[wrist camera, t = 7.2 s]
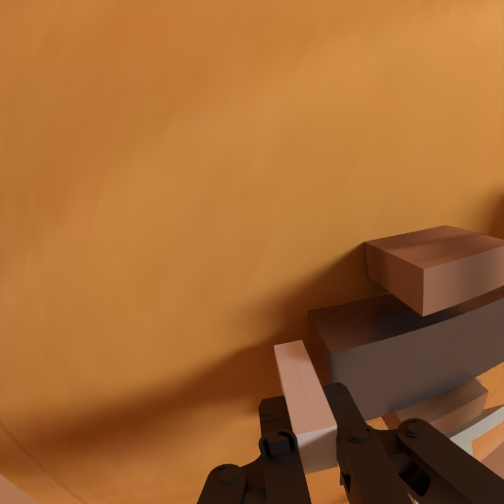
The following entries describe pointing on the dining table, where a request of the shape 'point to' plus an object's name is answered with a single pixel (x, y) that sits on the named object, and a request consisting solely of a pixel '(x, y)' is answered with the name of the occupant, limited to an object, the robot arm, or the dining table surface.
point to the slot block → (438, 300)
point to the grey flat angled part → (475, 428)
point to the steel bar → (405, 348)
